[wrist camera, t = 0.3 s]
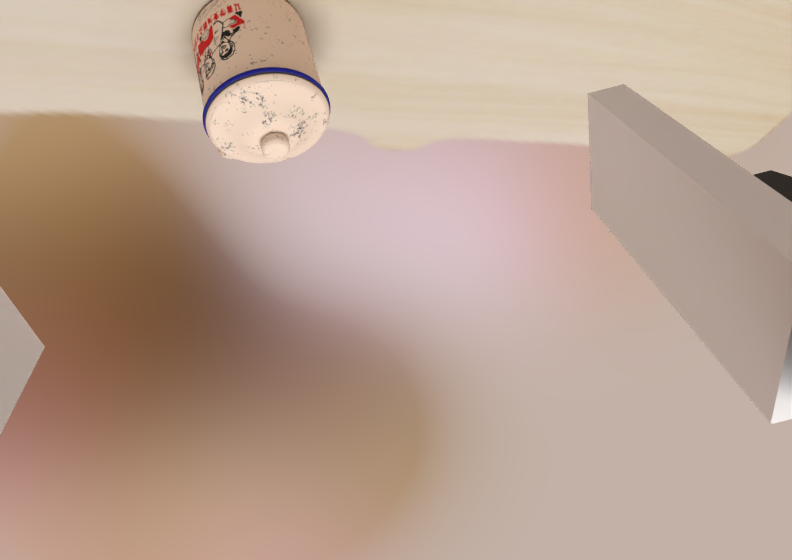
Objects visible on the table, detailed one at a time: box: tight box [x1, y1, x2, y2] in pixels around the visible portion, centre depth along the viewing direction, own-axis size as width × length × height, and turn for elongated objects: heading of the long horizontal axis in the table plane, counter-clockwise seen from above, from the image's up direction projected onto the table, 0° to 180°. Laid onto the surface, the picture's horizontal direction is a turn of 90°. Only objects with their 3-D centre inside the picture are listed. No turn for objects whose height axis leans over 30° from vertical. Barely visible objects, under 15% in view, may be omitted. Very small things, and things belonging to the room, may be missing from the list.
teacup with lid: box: [192, 0, 330, 163], centre depth 47 cm, size 12×9×12 cm
